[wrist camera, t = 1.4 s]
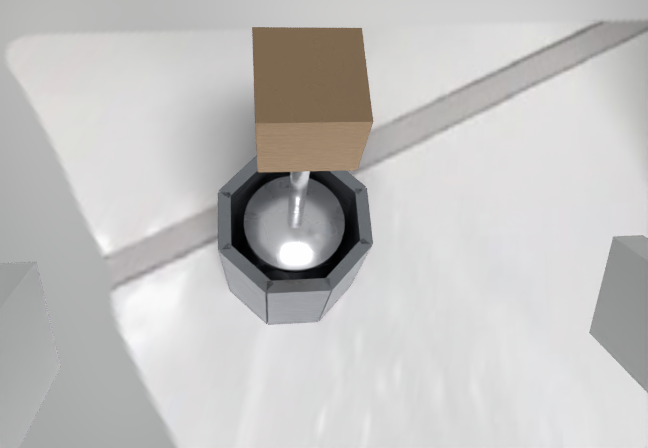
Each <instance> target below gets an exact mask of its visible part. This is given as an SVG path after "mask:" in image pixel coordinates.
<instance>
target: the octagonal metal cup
mask: <svg viewBox="0 0 648 448" xmlns="http://www.w3.org/2000/svg"><path fill="white" fill-rule="evenodd" d="M290 175H291V172H258V167H257V156H256V157H255V158H254V159H253V160H251V161H250V162H249V163H248V164H247V165H246V166H245V167H244V168H243V169H242V170H241V171H240V172H238V173H237V174H236V175H235V176H234V177H233V178H232V179H231V180H230V181H229V182H228V183H227V184H226V185H224V186H223V187H222V188H221V189H220V190H219V193H218V251H219V254H220V258H221V261H222V265H223V268H224V272H225V275H226V279H227V282H228V286H229V289H230V291H231V292H232V293H233V294H234V295H235V296H236V297H237V298H238V299H240V300H241V301H242V302H243V303H244V304H245V305H246V306H247V307H248V308H250V309H251V310H252V311H253V312H254V313H255V314H256V315H257V316H258V317H259V318H261V319H262V320H263V321H264V322H265V323H266V324H267V323H268V325H269V324H287V323H305V322H318V320H319V321H320V320H321V319H322V318H323V316H324V315H325V314H326V313H327V312H328V311H329V310H330V308H331V307H332V306H333V305H334V304H335V303H336V302H337V301H338V299H339V298H340V297H341V296H342V295H343V294H344V293H345V291H346V290H347V289H348V288H349V287H350V286H351V284H352V282H353V280H354V279H355V277H356V275H357V273H358V271H359V269H360V267H361V265H362V264H363V262H364V260H365V258H366V256H367V254H368V252H369V251H370V249H371V247H372V244H373V240H372V231H371V222H370V213H369V204H368V195H367V188H365V187H366V186H364V185H363V184H362V183H361V182H359V181H358V180H357V179H356V178H354V177H353V176H352V175H351V174H350V173H348V172H347V171H346V170H343V171H310V173H309V179H312V180H315V181H317V182H319V183H321V184H322V185H324V186H325V187H327V188H328V189H329V190H330V191H331V192H332V193H333V194H334V195H335V197H336V198H337V200H338V201H339V203H340V205H341V207H342V210H343V214H344V220H345V227H344V233H343V237H342V240H341V243H340V245H339V247H338V249H337V251H336V252H335V254H334V255H333V256H332V257H331V258H330V259H329V260H328V261H327V262H326V263H325V264H323V265H322V266H320V267H318V268H316V269H314V270H311V271H308V272H304V273H286V272H281V271H278V270H275V269H273V268H271V267H269V266H267V265H265V264H264V263H263V262H262V261H260V260H259V259H258V258H257V257H256V256H255V254H254V253H253V252H252V250H251V248H250V247H249V245H248V242H247V240H246V235H245V229H244V215H245V211H246V208H247V205H248V203H249V201H250V199H251V198H252V196H253V195H254V194H255V193H256V191H257V190H258V189H260V188H261V187H262V186H263V185H265V184H266V183H268V182H270V181H272V180H275V179H278V178H281V177H287V176H290Z"/></svg>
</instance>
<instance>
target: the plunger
mask: <svg viewBox="0 0 648 448" xmlns="http://www.w3.org/2000/svg"><path fill="white" fill-rule="evenodd" d="M252 33H253V66H254V98H255V128H256V147H257V167H258V172H291V175H290V176H287V177H281V178H278V179H275V180H272V181H270V182H268V183H266V184H265V185H263V186H262V187H261V188H260V189H258V190H257V191H256V193H255V194H254V195H253V196H252V198H251V199H250V201H249V203H248V205H247V208H246V211H245V215H244V229H245V235H246V240H247V242H248V245H249V247H250V248H251V250H252V252H253V253H254V254H255V256H256V257H257V258H258V259H259V260H260V261H262V262H263V263H264V264H265V265H267V266H269V267H271V268H273V269H275V270H278V271H281V272H286V273H304V272H308V271H311V270H314V269H316V268H318V267H320V266H322V265H323V264H325V263H326V262H327V261H328V260H329V259H330V258H331V257H332V256H333V255H334V254H335V252H336V251H337V249H338V247H339V245H340V243H341V240H342V237H343V233H344V227H345V220H344V214H343V210H342V207H341V205H340V203H339V201H338V200H337V198H336V197H335V195H334V194H333V193H332V192H331V191H330V190H329V189H328V188H327V187H325V186H324V185H322V184H321V183H319V182H317V181H315V180H312V179H309V173H310V171H343V170H357V169H358V166H359V163H360V160H361V157H362V154H363V151H364V148H365V145H366V142H367V139H368V136H369V133H370V130H371V127H372V124H373V117H372V109H371V101H370V92H369V84H368V76H367V68H366V59H365V51H364V43H363V35H362V28H269V27H253V28H252Z"/></svg>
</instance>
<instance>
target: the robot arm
mask: <svg viewBox="0 0 648 448" xmlns="http://www.w3.org/2000/svg"><path fill="white" fill-rule="evenodd" d="M589 333H590V334H591V335H592V336H593V337H594V338H595V339H596V340H597V341H598V342H599V343H600V344H601V345H602V346H603V347H604V348H605V349H606V350H607V351H608V352H609V353H610V355H611V356H612V357H613V358H614V359H615V360H616V361H617V362H618V363H619V364H620V365H621V366H622V367H623V368H624V369H625V370H626V371H627V372H628V373H629V374H630V375H631V376H632V377H633V378H634V379H635V380H636V381H637V382H638V383H639V384H640V385H641V386H642V387H643V388H644V390H645V391H646V392H647V393H648V238H646V237H645V236H643V235H641V236H618V237H613V240H612V244H611V248H610V252H609V256H608V260H607V264H606V268H605V272H604V276H603V280H602V284H601V288H600V292H599V296H598V300H597V304H596V308H595V312H594V316H593V320H592V324H591V328H590V332H589ZM60 367H61V366H60V362H59V357H58V353H57V349H56V344H55V340H54V336H53V332H52V327H51V323H50V319H49V314H48V310H47V305H46V301H45V297H44V292H43V288H42V284H41V280H40V275H39V271H38V266H37V262H20V263H0V448H20V446H21V444H22V442H23V440H24V438H25V436H26V434H27V432H28V430H29V428H30V426H31V424H32V422H33V420H34V418H35V416H36V415H37V413H38V410H39V409H40V407H41V405H42V403H43V401H44V399H45V397H46V395H47V393H48V391H49V389H50V387H51V385H52V383H53V381H54V379H55V377H56V375H57V373H58V371H59V369H60Z"/></svg>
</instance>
